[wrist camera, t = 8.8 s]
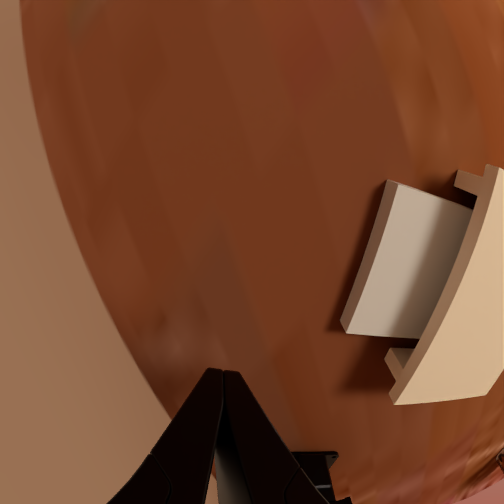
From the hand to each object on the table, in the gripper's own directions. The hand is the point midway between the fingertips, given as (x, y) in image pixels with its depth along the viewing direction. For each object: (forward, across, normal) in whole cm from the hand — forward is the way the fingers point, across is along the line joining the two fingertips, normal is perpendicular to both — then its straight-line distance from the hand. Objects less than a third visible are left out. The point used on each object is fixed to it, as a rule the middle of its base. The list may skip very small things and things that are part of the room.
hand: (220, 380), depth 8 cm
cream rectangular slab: (+12, -19, 0) cm, 22 cm away
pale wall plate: (+12, -16, 0) cm, 20 cm away
